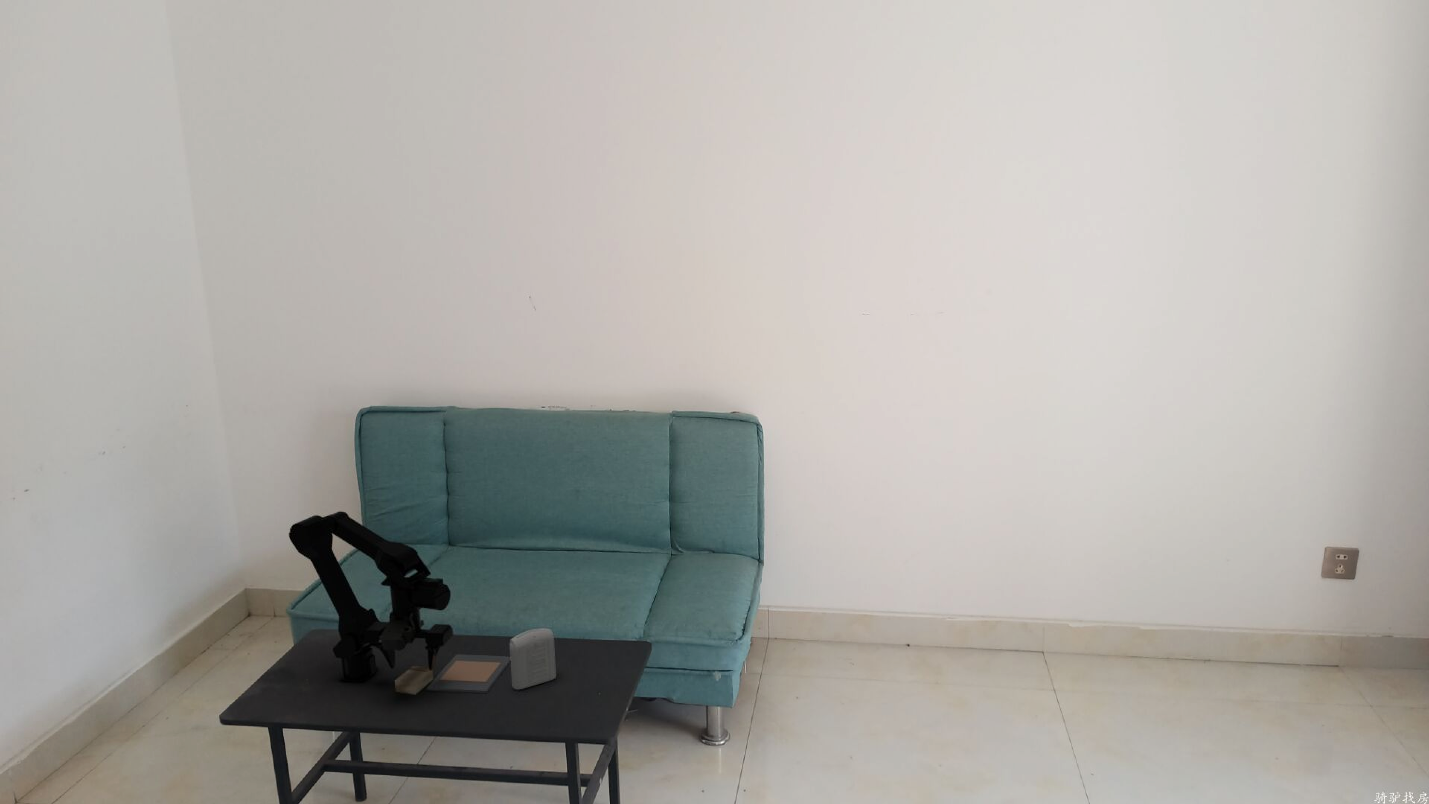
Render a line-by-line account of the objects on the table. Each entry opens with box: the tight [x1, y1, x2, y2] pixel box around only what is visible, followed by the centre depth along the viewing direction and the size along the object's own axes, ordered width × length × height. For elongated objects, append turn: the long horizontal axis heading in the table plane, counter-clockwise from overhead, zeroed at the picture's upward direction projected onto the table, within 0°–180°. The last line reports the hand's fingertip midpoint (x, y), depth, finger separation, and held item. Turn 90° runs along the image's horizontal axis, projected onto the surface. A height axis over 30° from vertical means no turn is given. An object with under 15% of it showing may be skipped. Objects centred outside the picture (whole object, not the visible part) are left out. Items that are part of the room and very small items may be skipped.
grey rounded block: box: [509, 627, 557, 691], centre depth 210 cm, size 10×4×12 cm, turn 123°
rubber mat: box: [426, 654, 511, 694], centre depth 216 cm, size 14×16×1 cm
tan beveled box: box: [394, 665, 434, 695], centre depth 211 cm, size 5×7×3 cm
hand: (412, 668), depth 211 cm, fingers open, 9 cm apart
